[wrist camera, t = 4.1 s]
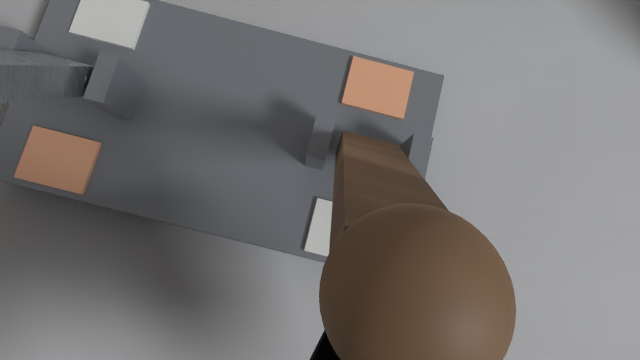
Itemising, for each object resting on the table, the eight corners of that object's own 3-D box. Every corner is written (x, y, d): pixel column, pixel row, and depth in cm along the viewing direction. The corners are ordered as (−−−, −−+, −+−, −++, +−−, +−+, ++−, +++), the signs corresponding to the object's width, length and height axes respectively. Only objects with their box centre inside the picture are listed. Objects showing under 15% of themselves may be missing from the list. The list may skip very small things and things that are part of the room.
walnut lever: (387, 185, 17) (503, 478, 5) (326, 170, 17) (288, 426, 5) (406, 125, 16) (604, 293, 4) (343, 109, 16) (348, 228, 4)
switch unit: (392, 277, 18) (416, 290, 14) (7, 180, 18) (-74, 166, 14) (433, 87, 20) (465, 52, 16) (78, -6, 19) (22, -65, 15)
